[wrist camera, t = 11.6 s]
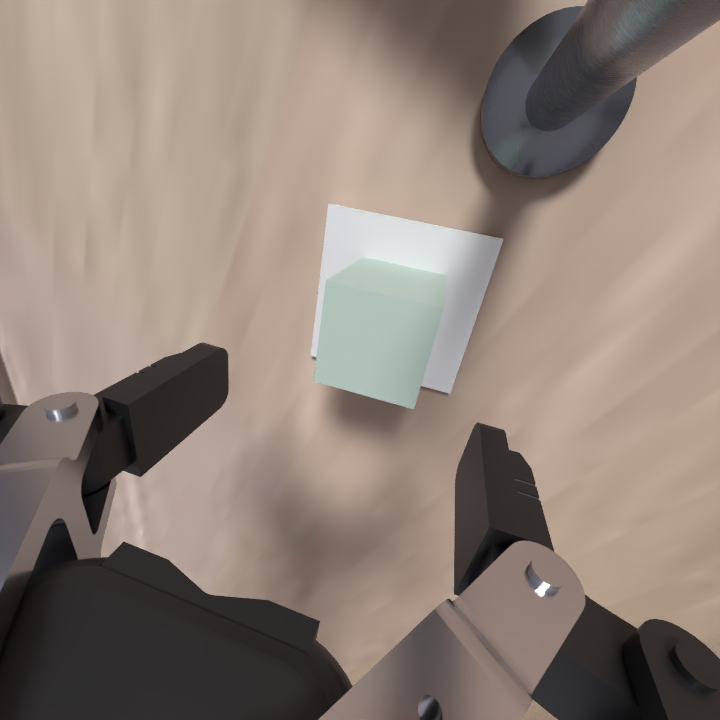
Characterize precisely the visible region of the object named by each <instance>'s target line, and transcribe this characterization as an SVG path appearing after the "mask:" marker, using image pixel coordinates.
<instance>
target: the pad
mask: <svg viewBox="0 0 720 720" xmlns="http://www.w3.org/2000/svg"><path fill="white" fill-rule="evenodd" d="M503 240H504V239H503V238H498V237H493V236H488V235H483V234H478V233H473V232H468V231H463V230H458V229H453V228H449V227H444V226H439V225H434V224H429V223H424V222H419V221H414V220H409V219H404V218H399V217H394V216H389V215H384V214H379V213H374V212H370V211H365V210H360V209H355V208H350V207H345V206H340V205H335V204H328V212H327V221H326V229H325V238H324V247H323V255H322V264H321V272H320V281H319V289H318V298H317V307H316V315H315V324H314V332H313V341H312V349H311V356H313V357H316V356H317V348H318V340H319V332H320V324H321V316H322V308H323V300H324V292H325V284H326V280H327V279H329V278H330V277H332V276H334V275H335V274H337V273H339V272H340V271H342V270H343V269H345V268H347V267H348V266H350V265H352V264H353V263H355V262H357V261H358V260H360V259H362V258H363V257H366V258H371V259H376V260H380V261H385V262H389V263H394V264H398V265H403V266H407V267H412V268H416V269H421V270H425V271H430V272H434V273H439V274H443V275H447V276H446V288H445V300H444V309H443V313H442V316H441V319H440V323H439V326H438V330H437V333H436V336H435V340H434V343H433V346H432V350H431V353H430V357H429V360H428V363H427V367H426V370H425V374H424V377H423V380H422V384H421V386H423V387H427V388H431V389H434V390H438V391H442V392H445V393H449V394H450V393H451V390H452V387H453V384H454V381H455V378H456V376H457V373H458V370H459V367H460V364H461V361H462V358H463V355H464V352H465V350H466V347H467V344H468V341H469V338H470V335H471V332H472V329H473V326H474V324H475V321H476V318H477V315H478V312H479V309H480V306H481V303H482V301H483V298H484V295H485V292H486V289H487V286H488V283H489V280H490V277H491V275H492V272H493V269H494V266H495V263H496V260H497V257H498V254H499V251H500V249H501V246H502V243H503Z"/></svg>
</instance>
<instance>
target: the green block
mask: <svg viewBox="0 0 720 720" xmlns="http://www.w3.org/2000/svg"><path fill="white" fill-rule="evenodd" d="M446 276H447V275H443V274H439V273H434V272H430V271H425V270H421V269H416V268H412V267H407V266H403V265H398V264H394V263H389V262H385V261H380V260H376V259H371V258H366V257H363V258H362V259H360V260H358V261H357V262H355V263H353V264H352V265H350V266H348V267H347V268H345V269H343V270H342V271H340V272H339V273H337V274H335V275H334V276H332V277H330V278H329V279H327V280H326V284H325V292H324V300H323V308H322V316H321V324H320V332H319V340H318V348H317V356H316V364H315V372H314V380H313V381H315V382H318V383H322V384H325V385H329V386H332V387H336V388H339V389H343V390H347V391H350V392H354V393H357V394H361V395H364V396H368V397H371V398H375V399H378V400H382V401H386V402H389V403H393V404H396V405H400V406H403V407H407V408H410V409H414V408H415V404H416V401H417V397H418V394H419V391H420V387H421V384H422V380H423V377H424V374H425V370H426V367H427V363H428V360H429V357H430V353H431V350H432V346H433V343H434V340H435V336H436V333H437V330H438V326H439V323H440V319H441V316H442V313H443V309H444V300H445V288H446Z"/></svg>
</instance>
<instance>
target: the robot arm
mask: <svg viewBox="0 0 720 720" xmlns="http://www.w3.org/2000/svg"><path fill="white" fill-rule="evenodd" d="M228 389H229V388H228V353H227V351H226V350H225V349H223V348H220V347H216V346H213V345H209V344H206V343H199V344H197V345H196V346H194V347H192V348H190V349H188V350H186V351H185V352H183V353H179V354H175V355H172V356H168V357H165V358H163V359H161V360H159V361H157V362H155V363H153V364H151V366H150V367H149V366H148V367H146V368H144V369H142V370H140V371H139V373H134V374H132V375H131V376H129V377H127V378H125V379H123V380H121V381H119V382H117V383H115V384H114V385H112V386H110V387H108V388H106V389H104V390H102V391H100V392H98V393H97V394H95V395H91V394H88V393H83V392H67V393H60V394H55V395H51V396H48V397H45V398H42V399H40V400H38V401H36V402H34V403H32V404H31V405H29V406H23V405H9V404H3V402H2V400H1V397H0V720H522V719H523V717H524V716H525V714H526V712H527V710H528V708H529V707H530V705H531V702H532V700H534V701H536V702H537V703H538V704H539V705H541V706H542V707H543V708H544V709H546V710H547V711H548V712H549V713H551V714H552V715H553V716H554V717H556V718H557V719H558V720H720V659H719V658H718V657H717V656H716V655H715V654H714V653H713V652H712V651H711V650H710V649H709V648H708V647H707V646H706V645H705V644H703V643H702V642H701V641H700V640H698V639H697V638H696V637H694V636H693V635H692V634H690V633H689V632H687V631H686V630H684V629H682V628H680V627H679V626H677V625H674V624H672V623H670V622H667V621H664V620H658V619H650V620H648V621H646V622H644V623H643V624H642V625H641V626H640V627H639V628H638V629H637V628H635V627H634V626H632V625H631V624H629V623H627V622H626V621H624V620H623V619H621V618H619V617H618V616H616V615H615V614H613V613H612V612H610V611H608V610H607V609H605V608H604V607H602V606H600V605H599V604H597V603H596V602H594V601H593V600H591V599H590V598H589V597H588V596H586V595H585V593H584V590H583V587H582V584H581V582H580V580H579V579H578V577H577V575H576V574H575V572H574V571H573V570H572V568H571V567H570V566H569V565H568V564H567V563H566V562H565V561H564V560H563V559H562V558H561V557H560V556H559V555H557V554H556V553H555V552H554V549H553V546H552V542H551V538H550V535H549V531H548V527H547V524H546V520H545V517H544V513H543V509H542V506H541V502H540V500H539V495H538V491H537V488H536V487H535V480H534V477H533V473H532V469H531V468H530V466H529V465H528V463H527V462H526V461H525V459H524V458H523V457H522V455H521V454H520V453H518V452H514V451H511V450H509V448H508V443H507V438H506V433H505V431H504V430H502V429H499V428H495V427H492V426H488V425H485V424H481V423H476V424H475V426H474V428H473V430H472V433H471V435H470V438H469V440H468V443H467V445H466V447H465V450H464V452H463V455H462V457H461V460H460V462H459V465H458V469H457V473H456V479H455V553H454V594H455V595H458V597H457V598H456V599H455V600H454V601H451V600H450V599H447V600H445V601H444V602H442V603H441V604H440V605H439V606H438V607H436V608H435V609H434V610H433V611H432V612H431V613H430V614H429V615H428V616H427V617H426V618H425V619H424V620H423V621H422V622H421V623H420V624H418V625H417V626H416V627H415V628H414V629H413V630H412V631H411V632H410V633H409V634H408V635H407V636H406V637H405V638H404V639H403V640H402V641H401V642H399V643H398V644H397V645H396V646H395V647H394V648H393V649H392V650H391V651H390V652H389V653H388V654H387V655H386V656H385V657H384V658H383V659H382V660H380V661H379V662H378V663H377V664H376V665H375V666H374V667H373V668H372V669H371V670H370V671H369V672H368V673H367V674H366V675H365V676H364V677H363V678H362V679H360V680H359V681H358V682H357V683H356V684H355V685H354V686H352V685H351V683H350V681H349V679H348V677H347V675H346V674H345V672H344V671H343V669H342V668H341V666H340V665H339V663H338V662H337V661H336V660H335V658H334V657H333V656H332V655H331V654H330V653H329V652H328V651H327V649H326V648H325V647H323V646H322V645H321V644H320V643H319V642H318V641H317V640H316V637H317V633H318V628H319V623H320V621H318V620H315V619H313V618H310V617H308V616H305V615H303V614H300V613H298V612H296V611H293V610H291V609H288V608H286V607H283V606H281V605H278V604H276V603H273V602H271V601H268V600H259V599H248V598H237V597H226V596H215V595H209V594H207V593H205V592H204V591H202V590H201V589H200V588H199V587H198V586H197V585H196V584H195V583H194V582H192V581H191V580H190V579H189V578H188V577H187V576H186V575H185V574H184V573H182V572H181V571H180V570H179V569H178V568H177V567H176V566H175V565H174V564H172V563H171V562H170V561H169V560H167V559H165V558H163V557H160V556H158V555H155V554H153V553H150V552H148V551H145V550H143V549H140V548H138V547H135V546H133V545H131V544H128V543H126V542H123V543H122V544H121V545H120V546H119V547H118V548H117V549H116V550H115V551H114V552H113V553H112V554H111V555H110V556H109V557H108V558H107V557H102V558H101V547H102V542H103V538H104V534H105V530H106V526H107V521H108V517H109V513H110V509H111V505H112V501H113V497H114V493H115V489H116V484H117V483H116V478H115V476H117V475H118V474H119V473H120V472H122V471H126V472H128V473H131V474H134V475H137V476H139V477H141V476H142V475H144V474H145V473H146V472H147V471H148V470H149V469H150V468H152V467H153V466H154V465H155V464H156V463H157V462H159V461H160V460H161V459H162V458H163V457H164V456H165V455H167V454H168V453H169V452H170V451H171V450H172V449H174V448H175V447H176V446H177V445H178V444H179V443H180V442H182V441H183V440H184V439H185V438H186V437H187V436H189V435H190V434H191V433H192V432H193V431H194V430H195V429H197V428H198V427H199V426H200V425H201V424H202V423H204V422H205V421H206V420H207V419H208V418H209V417H211V416H212V415H213V414H214V413H215V412H216V411H217V410H219V409H220V408H221V407H222V405H223V404H224V402H225V401H226V398H227V395H228Z"/></svg>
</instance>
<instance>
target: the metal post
mask: <svg viewBox="0 0 720 720" xmlns="http://www.w3.org/2000/svg"><path fill="white" fill-rule="evenodd" d="M719 20H720V0H588V1H587V3H586V4H585V6H584V7H583V6H576V7H569V8H564V9H561V10H557V11H554V12H552V13H550V14H547V15H545V16H543V17H542V18H540V19H538V20H537V21H535V22H533V23H532V24H531V25H529V26H528V27H527V28H526V29H524V30H523V31H522V32H521V33H520V34H519V35H518V36H517V37H516V38H515V39H514V40H513V41H512V42H511V44H510V45H509V46H508V47H507V48H506V50H505V51H504V53H503V54H502V56H501V57H500V59H499V60H498V62H497V64H496V66H495V68H494V70H493V72H492V74H491V77H490V79H489V82H488V85H487V88H486V92H485V95H484V99H483V104H482V110H481V129H482V136H483V139H484V143H485V145H486V148H487V150H488V152H489V153H490V155H491V157H492V158H493V159H494V160H495V162H496V163H497V164H498V165H499V166H501V167H502V168H503V169H505V170H506V171H508V172H509V173H512V174H514V175H517V176H521V177H526V178H542V177H548V176H552V175H555V174H559V173H562V172H565V171H568V170H570V169H572V168H575V167H576V166H578V165H580V164H582V163H583V162H585V161H586V160H588V159H589V158H590V157H592V156H593V155H594V154H595V153H597V152H598V151H599V150H600V149H601V148H602V147H603V146H604V145H605V144H606V143H607V142H608V141H609V140H610V138H611V137H612V136H613V134H614V133H615V132H616V131H617V129H618V127H619V126H620V124H621V123H622V121H623V119H624V117H625V115H626V113H627V111H628V109H629V107H630V104H631V101H632V98H633V95H634V91H635V87H636V80H637V76H639V75H640V74H642V73H643V72H645V71H646V70H648V69H649V68H650V67H652V66H653V65H655V64H656V63H658V62H659V61H661V60H662V59H664V58H665V57H666V56H668V55H669V54H671V53H672V52H674V51H675V50H677V49H678V48H680V47H681V46H682V45H684V44H685V43H687V42H688V41H690V40H691V39H693V38H694V37H696V36H697V35H698V34H700V33H701V32H703V31H704V30H706V29H707V28H709V27H710V26H712V25H713V24H715V23H716V22H717V21H719Z"/></svg>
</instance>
